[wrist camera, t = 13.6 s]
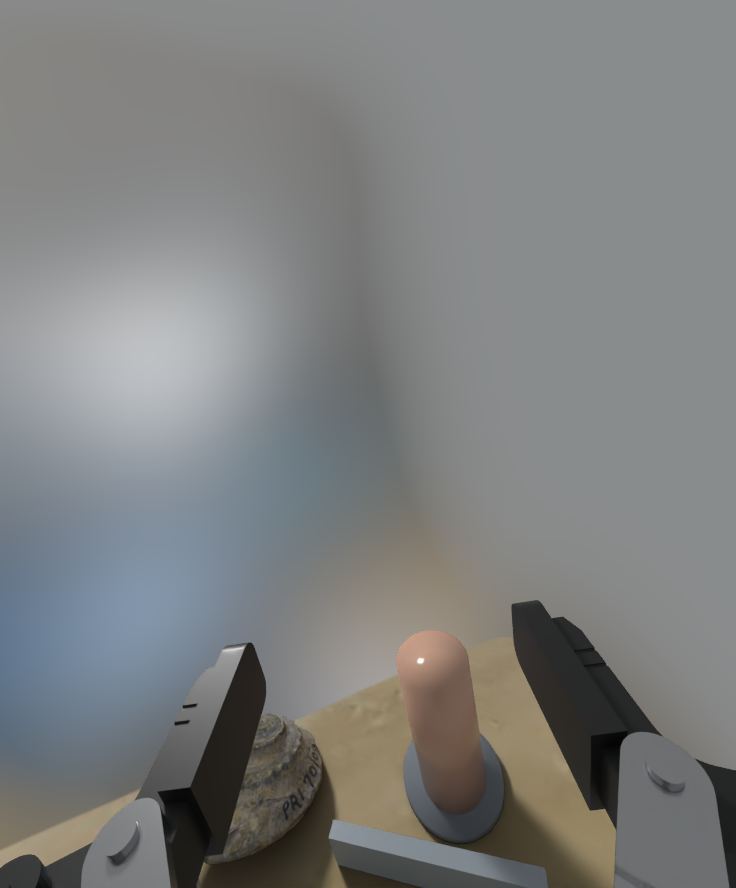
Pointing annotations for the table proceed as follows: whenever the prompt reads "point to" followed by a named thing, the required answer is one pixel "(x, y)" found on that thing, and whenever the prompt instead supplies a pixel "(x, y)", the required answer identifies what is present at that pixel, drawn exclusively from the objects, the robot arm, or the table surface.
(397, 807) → the table surface
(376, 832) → the gray rectangular bar
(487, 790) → the slate coaster
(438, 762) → the peach rounded cylinder
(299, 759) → the fossilized seashell
